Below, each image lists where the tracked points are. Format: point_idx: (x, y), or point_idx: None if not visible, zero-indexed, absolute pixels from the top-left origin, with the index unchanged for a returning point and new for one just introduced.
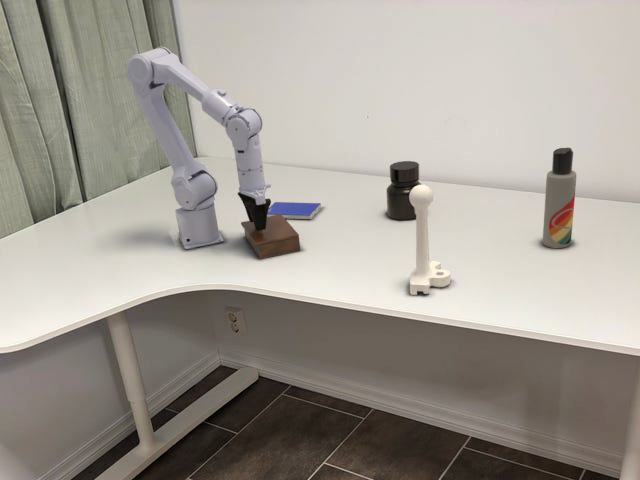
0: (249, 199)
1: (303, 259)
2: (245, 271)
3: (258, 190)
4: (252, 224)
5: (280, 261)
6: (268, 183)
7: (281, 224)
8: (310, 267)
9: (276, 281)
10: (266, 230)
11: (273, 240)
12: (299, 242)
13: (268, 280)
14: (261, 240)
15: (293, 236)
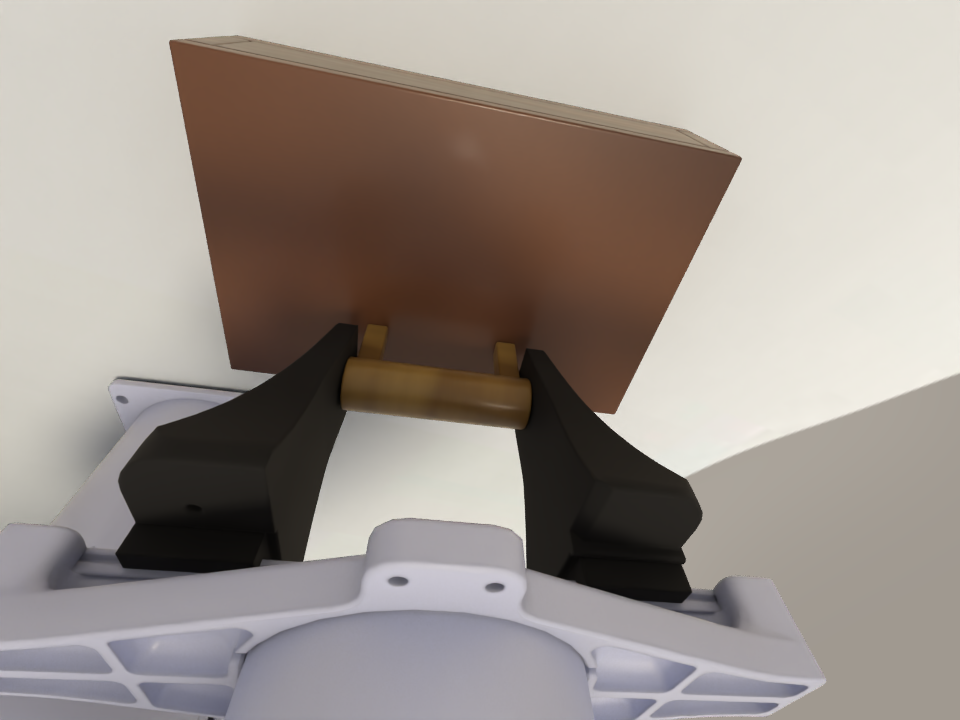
0: (304, 502)
1: (800, 178)
2: (650, 425)
3: (593, 670)
4: (314, 332)
5: (700, 287)
6: (447, 580)
7: (443, 170)
8: (915, 199)
9: (843, 377)
10: (481, 306)
11: (653, 329)
12: (710, 142)
13: (803, 394)
14: (606, 383)
15: (719, 200)
